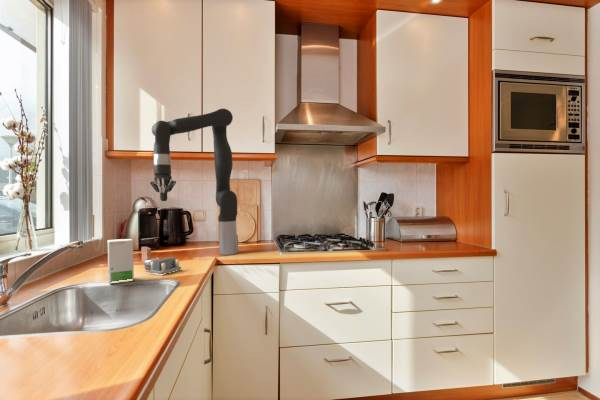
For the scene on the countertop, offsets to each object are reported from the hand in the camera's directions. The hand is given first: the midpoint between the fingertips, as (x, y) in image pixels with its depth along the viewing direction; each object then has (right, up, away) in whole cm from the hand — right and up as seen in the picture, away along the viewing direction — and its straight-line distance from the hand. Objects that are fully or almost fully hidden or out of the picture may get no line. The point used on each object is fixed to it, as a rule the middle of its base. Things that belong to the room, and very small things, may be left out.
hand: (163, 201), depth 162 cm
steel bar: (+9, -28, -21) cm, 36 cm away
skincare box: (-2, -30, -34) cm, 46 cm away
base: (+1, -29, -15) cm, 33 cm away
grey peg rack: (-2, -28, -12) cm, 30 cm away
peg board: (+9, -29, -21) cm, 37 cm away
